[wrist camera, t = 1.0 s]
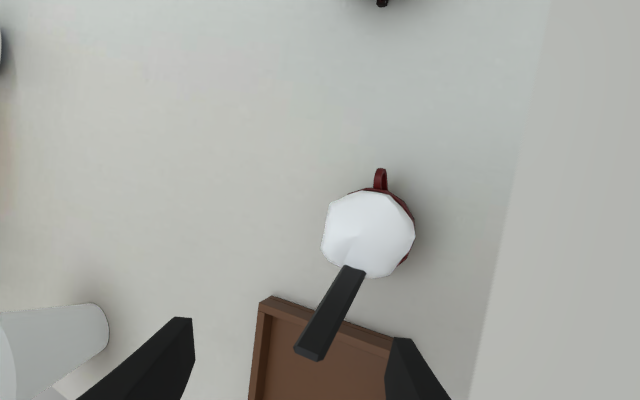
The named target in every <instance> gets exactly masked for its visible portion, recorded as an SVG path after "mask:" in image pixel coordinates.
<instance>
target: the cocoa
mask: <svg viewBox="0 0 640 400" xmlns="http://www.w3.org/2000/svg"><path fill="white" fill-rule="evenodd" d="M415 237H416V236H415V224H414V218H413V216H412V214H411V212H410V211H409V209H408V207H407V206H406V204H405V202H404V201H403V200H401V199H400V198H398V197H397V196H395V195H394V194H392V193H391V192H389V191H388V186H387V173H386V169H383V168H378V169H377V171H376V173H375V177H374V184H373V188H364V189H361V190H358V191H355V192H352V193H349V194H347V195H346V196H345V197H343V198H341V199H338V200H336V201H333V202H331V203H330V204H329V208H328V212H327V216H326V223H325V230H324V235H323V239H322V243H321V247H320V250H321V251H322V253H323V254H324V256H325V257H326V259H327V260H328V261H329V262H331V263H333V264H335V265H337V266H339V267H340V268H342V269H341V270H340V272H339V273H338V275H337V277H336V278H335V280H334V282H333V283H332V285H331V286H330V288H329V290H328V291H327V293H326V294H325V296H324V298H323V299H322V301H321V303H320V304H319V306H318V307H317V309H316V311H315V312H314V314H313V315H312V317H311V319H310V320H309V322H308V324H307V325H306V327H305V328H304V330H303V332H302V333H301V335H300V336H299V338H298V340H297V341H296V343H295V345H294V346H293V349H294V352H295V353H296V354H299V355H301V356H303V357H305V358H308V359H310V360H312V361H315V362H319V361H322V360H324V358H325V356H326V354H327V352H328V350H329V348H330V346H331V344H332V342H333V340H334V338H335V336H336V334H337V332H338V330H339V328H340V326H341V324H342V322H343V320H344V318H345V316H346V314H347V312H348V310H349V308H350V306H351V304H352V302H353V300H354V298H355V296H356V294H357V292H358V290H359V288H360V286H361V284H362V282H363V280H364V278H372V279H376V278H380V277H385V276H389V275H390V274H391V273H392V271H393V270H394V269H395V268H396V267H397V266H398V265H399V264H401V263H402V262H403V261H405V260H406V259H407V256H408V254H409V252H410V250H411V247H412V245H413V243H414V240H415Z"/></svg>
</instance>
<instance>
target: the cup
mask: <svg viewBox="0 0 640 400" xmlns="http://www.w3.org/2000/svg"><path fill="white" fill-rule="evenodd" d="M108 340H109V326H108V322H107V319H106V316H105V314H104V312H103V311H102V309H101V308H100V307H99V306H97V305H96V304H92V303H89V304H79V305H69V306H59V307H49V308H39V309H29V310H18V311H8V312H0V400H31V399H33V398H34V397H36V396H37V395H38V394H40V393H41V392H43V391H44V390H46V389H47V388H49V387H50V386H52V385H53V384H54V383H56V382H57V381H59V380H60V379H62V378H63V377H64V376H66V375H67V374H69V373H70V372H72V371H73V370H75V369H76V368H77V367H79V366H80V365H82V364H83V363H85V362H86V361H87V360H89V359H90V358H92V357H93V356H95V355H96V354H97V353H99V352H100V351H102V350H103V349H105V347H106V346H107V343H108Z"/></svg>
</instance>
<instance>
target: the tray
mask: <svg viewBox="0 0 640 400" xmlns="http://www.w3.org/2000/svg"><path fill="white" fill-rule="evenodd" d="M258 310H259V311H258V315H257V324H256V332H255V341H254V350H253V358H252V367H251V376H250V385H249V393H248V400H386V395H385V384H384V375H385V371H386V367H387V363H388V359H389V354H390V350H391V346H392V342H393V338H391V337H389V336H386V335H383V334H380V333H377V332H374V331H371V330H369V329H366V328H363V327H360V326H357V325H354V324H351V323H349V322H346V321H343V322H342V324H341V326H340V328H339V330H338V332H337V334H336V336H335V338H334V340H333V342H332V344H331V346H330V348H329V350H328V352H327V354H326V356H325V358H324V360H322V361H319V362H315V361H312V360H310V359H308V358H305V357H303V356H301V355H299V354H296V353H295V352H294V349H293V346H294V345H295V343H296V341H297V340H298V338H299V336H300V335H301V333H302V332H303V330H304V328H305V327H306V325H307V324H308V322H309V320H310V319H311V317H312V315H313V314H314V312H315V311H314V310H311V309H309V308H306V307H303V306H300V305H297V304H294V303H291V302H288V301H286V300H283V299H280V298H277V297H274V296H270V297H268V298H267V299H265V300H263V301H261V302H259V307H258Z"/></svg>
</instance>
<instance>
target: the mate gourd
mask: <svg viewBox="0 0 640 400" xmlns="http://www.w3.org/2000/svg"><path fill="white" fill-rule="evenodd" d="M387 3H388V0H377V2H376V4H377V5H378V7H385V6H387Z"/></svg>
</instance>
